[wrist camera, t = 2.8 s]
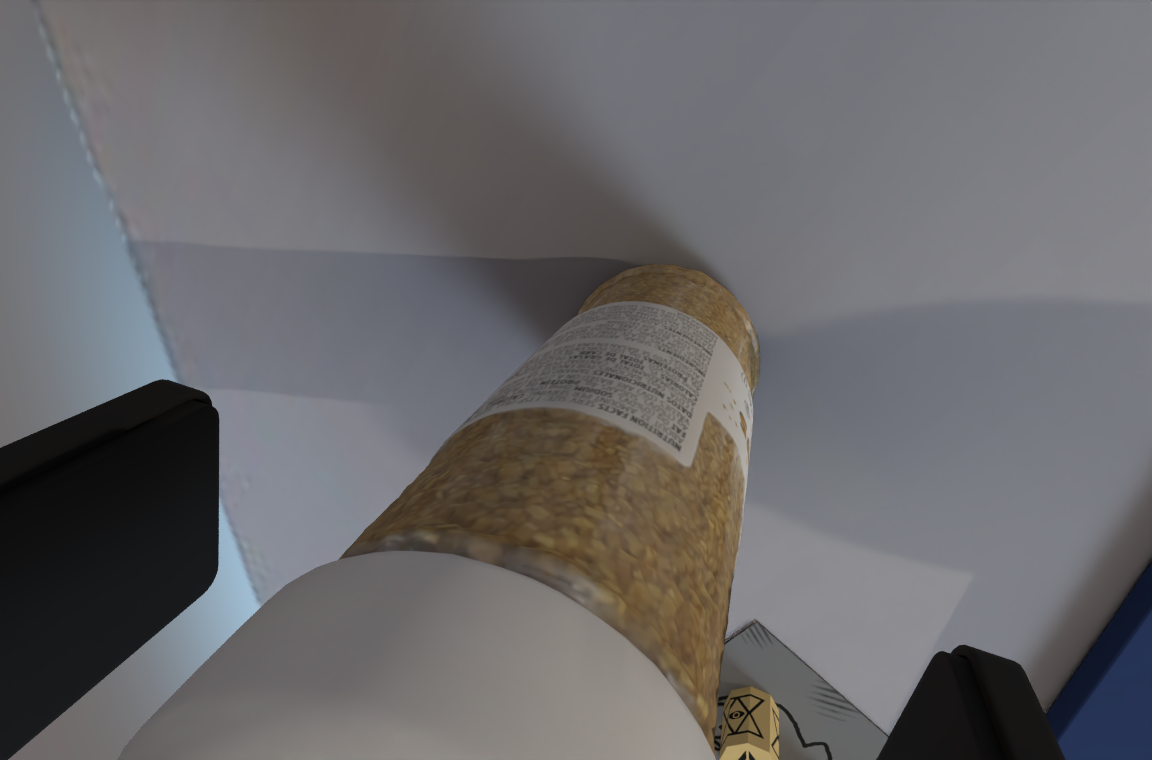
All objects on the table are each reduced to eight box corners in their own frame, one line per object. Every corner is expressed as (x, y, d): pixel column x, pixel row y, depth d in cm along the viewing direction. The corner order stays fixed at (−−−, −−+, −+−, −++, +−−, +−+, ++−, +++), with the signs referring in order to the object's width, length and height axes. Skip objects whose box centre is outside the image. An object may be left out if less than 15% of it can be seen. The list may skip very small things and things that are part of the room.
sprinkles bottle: (727, 463, 17) (601, 1309, 5) (553, 406, 18) (85, 1030, 6) (791, 288, 15) (832, 976, 3) (594, 232, 16) (24, 622, 4)
